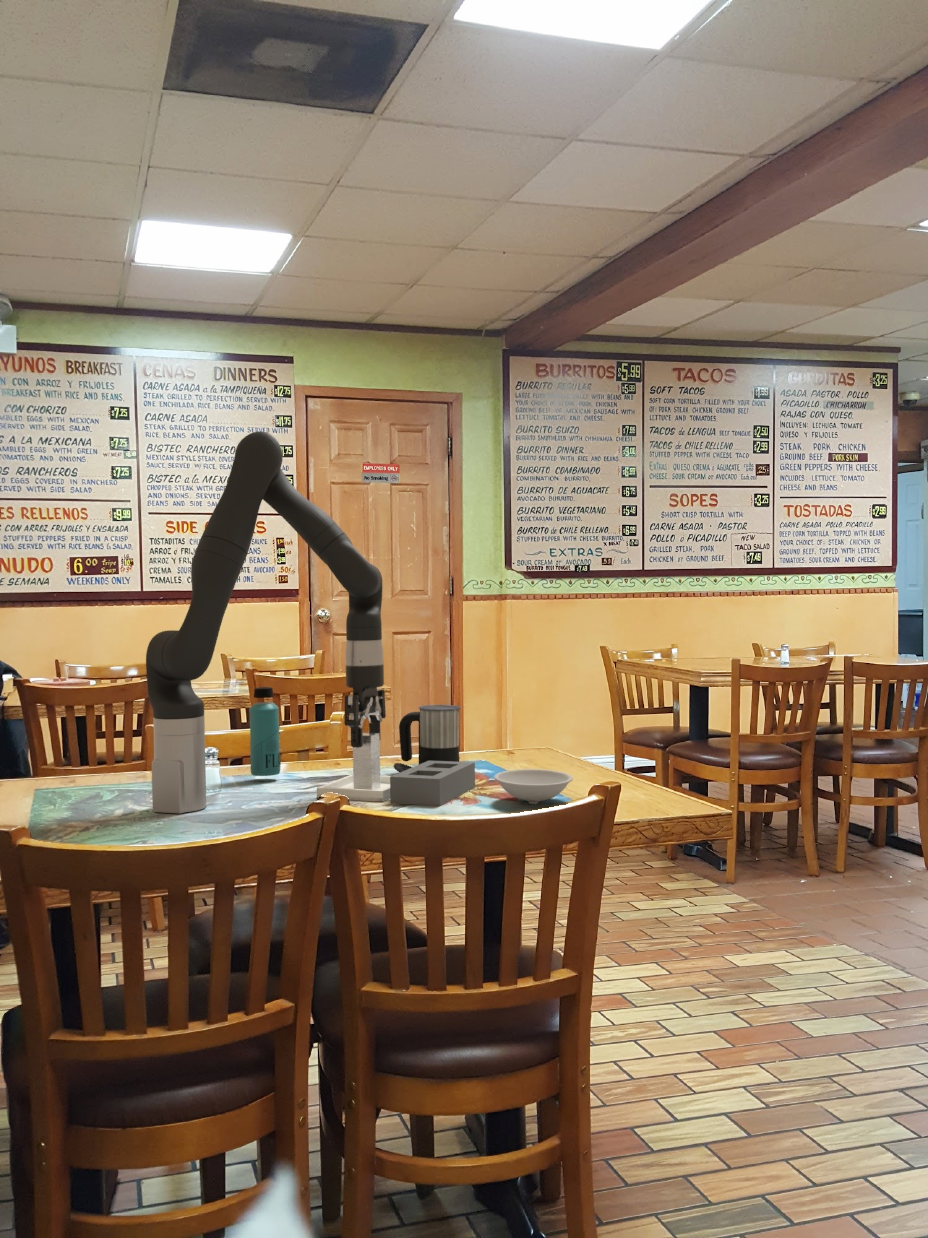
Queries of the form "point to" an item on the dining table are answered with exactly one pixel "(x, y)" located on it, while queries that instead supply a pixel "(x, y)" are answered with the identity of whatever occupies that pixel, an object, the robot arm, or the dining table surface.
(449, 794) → the slotted block
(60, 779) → the dining table surface
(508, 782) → the dish
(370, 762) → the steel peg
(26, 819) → the dining table surface
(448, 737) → the milk frother
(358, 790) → the tray
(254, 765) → the beverage bottle
